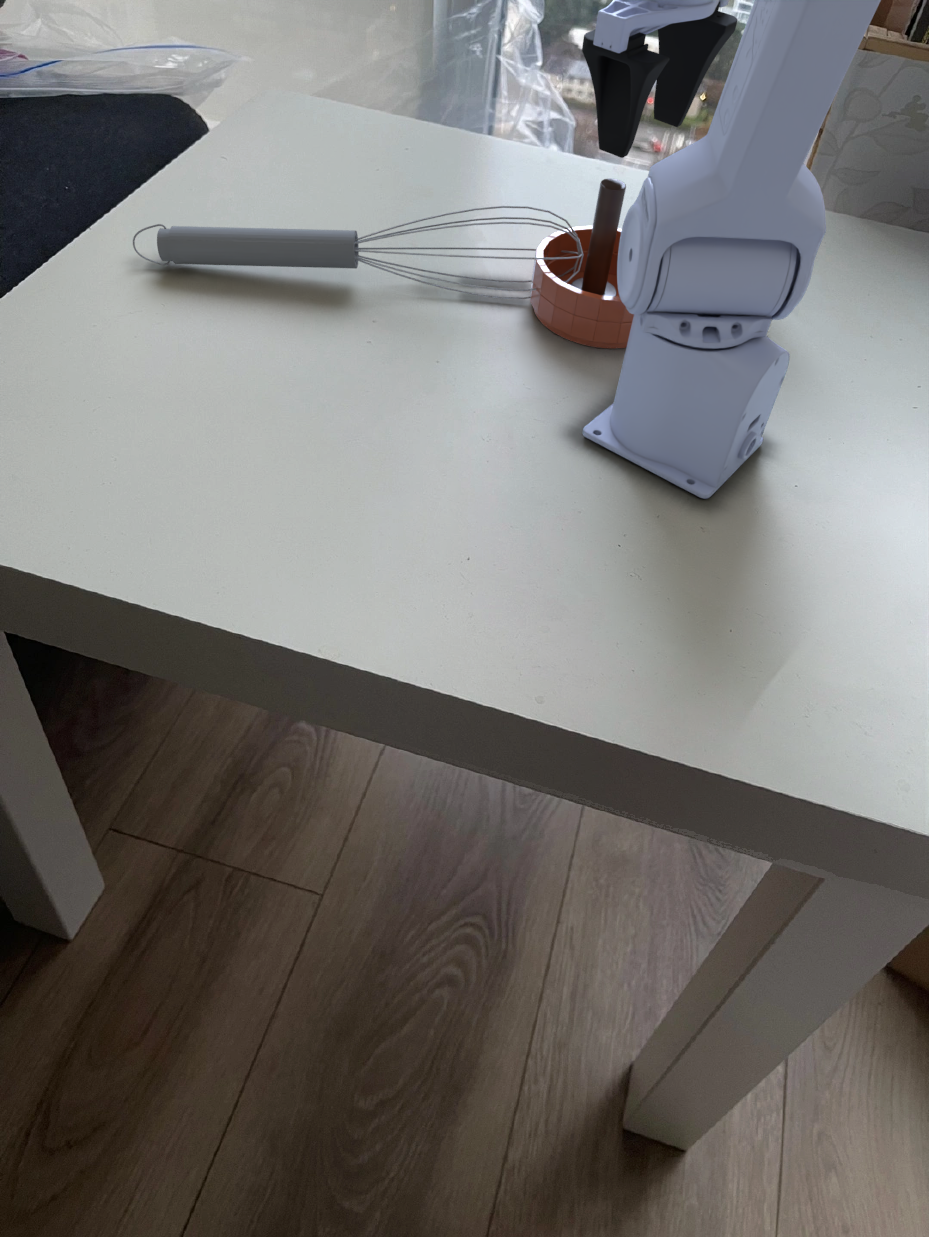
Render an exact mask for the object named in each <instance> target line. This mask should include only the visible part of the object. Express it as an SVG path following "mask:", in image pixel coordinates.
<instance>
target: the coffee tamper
mask: <svg viewBox="0 0 929 1237" xmlns="http://www.w3.org/2000/svg"><path fill="white" fill-rule="evenodd" d="M626 190H627V184H626V183H625V182H624V181H623V180H620V179H618V178H604V179H602V180H601V181H600V184H599V189H598V195H597V200H596V206H595V209H594V210H595V211H594V217H593V222H592V225H593V227H592V233H591V238H590V244H589V249H588V255H587V260H586V266H585V272H584V277H583V278H580V279H577V280H575V281H573V282H572V283H571V286H574V287H576V288H578V289H580V290H583V291H587V292H590V293H594V294H598V295H603V296H614V297H616V295H617V291H616V289H615V287H614V286H613V285H612V284H610V283H609V282H607V280H608V275H609V270H610V265H611V260H612V255H613V250H614V245H615V240H616V235H617V230H618V228H619V225H620V220H621V215H622V209H623V205H624V199H625V194H626Z"/></svg>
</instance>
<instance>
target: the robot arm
mask: <svg viewBox="0 0 929 1237" xmlns="http://www.w3.org/2000/svg"><path fill="white" fill-rule="evenodd" d="M729 1H730V0H612V1H611V2H610V3H609V4H608V5H607V6H605V7H604V8H601V9H600V10H598V11H597V18H596V24H595V29H592V30H589V31H588V32H586V33H585V34H584V35H583V40H582V47H581V52H582V54H583V57H584V60H585V62H586V65H587V67H588V71H589V74H590V78H591V82H592V83H591V84H592V86H593V92H594V98H595V100H594V101H595V111H596V125H597V139H598V142H597V143H598V149H599V150H600V151H603V152H605V153H608V154H610V155H613V156H616V157H617V158H620V159H621V158H622V159H624V158H625V157H627V156H628V155H629V153H630V151H631V149H632V147H633V144H634V142H635V139H636V135H637V132H638V130H639V127H640V122H641V119H642V115H643V112H644V109H645V106H646V104H647V101H648V99H649V96H650V94H651V92H652V90H653V87H654V85H655V90H654V97H653V98H654V99H653V120H656V121H658V122H661V123H664V124H667V125H670V126H671V127H672V126H673V127H675V128H679V127H680V126H682V124H683V123H684V121H685V119H686V117H687V115H688V113H689V111H690V108H691V106H692V104H693V102H694V101H695V100H694V99H695V97H696V96H697V93H698V90H699V88H700V87H701V85H702V83H703V80H704V78H705V76H706V74H707V73H708V71H709V69H710V67H711V65H712V63H713V62H714V60H715V59H716V57H717V55H718V54H719V52H720V51H721V50H722V48H723V47H724V45H725V44H726V43H727V42H728V40H729V39H730V38H731V36H732V35H733V34H734V33H735V32H736V29H737V24H738V18H737V17H736V16H734V15H732V14H729V13H726V12H723V11H720V8H724V7H726V6H728V5H729ZM881 1H882V0H754V2H753V4H752V7H751V10H750V12H749V16H748V18H747V20H746V24H745V27H744V29H743V33H742V35H741V38H740V41H739V43H738V46H737V49H736V52H735V55H734V58H733V61H732V63H731V67H730V69H729V71H728V75H727V77H726V80H725V83H724V85H723V89H722V91H721V94H720V97H719V100H718V102H717V106H716V107H715V111H714V114H713V116H712V120H711V122H710V124H709V128H708V131H707V133H706V135H704V136H703V137H701V138H700V139H698V140H696V141H695V142H693V143H691V144H688V145H686V146H685V147H682V148H681V149H680V150H677V151H676V152H673V153H672V154H670V155H668V156H666V157H665V158H662V159H661V160H659V161H657V162H656V163H654V164H653V165H651V166H650V168H649V171H648V174H647V177H646V178H645V179H644V180H643V182H642V185H641V187H640V191H639V193H638V195H637V197H636V199H635V201H634V202H633V204H631V206H630V207H629V208H628V210H627V212H626V214H625V217H624V220H623V223H622V228H621V229H622V231H621V236H620V242H619V250H618V261H617V284H618V292H619V296H620V299H621V301H622V303H623V304H624V305H625V306H626V309H627V310H628V311H629V313H631V314H634V317H633V321H632V325H631V330H630V334H629V338H628V343H627V347H626V348H625V352H624V356H623V360H622V365H621V368H620V374H619V377H618V378H619V379H618V383H617V387H616V391H615V396H614V400H613V403H611V404H610V405H608V407H606V409H604V410H603V411H601V413H599V414H598V415H597V416H595V417H594V418H593V419H592V420H590V422H588V423H587V424H586V425H585V426H584V427H582V436H583V437H584V438H586V439H587V440H590V441H592V442H593V443H596V444H598V445H600V446H601V447H603V448H605V449H606V450H609V451H610V452H612V453H614V454H616V455H618V456H620V457H621V458H624V459H626V460H627V461H629V462H632V463H633V464H635V465H637V466H639V467H641V468H643V469H645V470H647V471H648V472H651V473H653V474H654V475H656V476H658V477H660V478H662V479H664V480H666V481H667V482H670V483H671V484H673V485H675V486H677V487H679V488H681V489H682V490H685V491H686V492H689V493H691V494H693V495H694V496H696V497H698V498H699V499H703V500H707V499H709V498H711V497H712V496H713V495H714V494H715V493H716V492H717V491H718V490H719V489H720V488H721V487H722V486H723V484H725V483H726V481H728V480H729V479H730V478H731V476H732V475H733V474H734V473H735V472H736V471H738V469H740V468H741V466H742V465H743V464H744V463H745V462H746V461H747V460H748V459H749V458H750V457H751V456H752V455H753V454H754V453H755V452H756V451H757V450H758V449H759V448H760V446H761V445H762V444H763V442H764V437H763V434H764V431H765V429H766V427H767V424H768V421H769V419H770V416H771V413H772V411H773V408H774V406H775V403H776V401H777V398H778V396H779V393H780V390H781V388H782V385H783V382H784V379H785V378H786V377H785V376H786V374H787V371H788V369H789V364H790V351H788V350H787V349H785V348H784V347H782V346H781V345H779V344H778V343H776V342H775V341H774V340H772V339H771V338H770V337H769V336H768V332H769V329H770V327H771V324H772V321H780V320H783V319H785V318H787V317H788V316H789V315H790V314H792V312H793V311H794V310H795V309H796V307H797V306H798V305H799V304H800V303H801V301H802V300H803V298H804V296H805V294H806V292H807V290H808V287H809V284H810V281H811V279H812V274H813V272H814V265H815V260H816V257H817V254H818V251H819V249H820V247H821V244H822V242H823V239H824V236H825V235H826V233H827V220H826V219H827V218H826V206H825V201H824V196H823V192H822V189H821V186H820V184H819V182H818V180H817V178H816V176H815V175H814V174H813V172H812V171H811V170H810V169H809V167H807V165H806V164H805V161H806V159H807V157H808V154H809V152H810V150H811V148H812V146H813V144H814V142H815V139H816V138H817V136H818V133H819V131H820V129H821V127H822V125H823V123H824V121H825V119H826V116H827V115H828V112H829V110H830V109H831V106H832V103H833V102H834V100H835V98H836V95H837V93H838V92H839V89H840V87H841V85H842V83H843V81H844V79H845V76H846V75H847V72H848V70H849V69H850V66H851V64H852V62H853V61H854V60H853V59H854V58H855V56H856V54H857V51H858V50H859V47H860V46H861V43H862V41H863V39H864V37H865V35H866V33H867V30H868V29H869V26H870V25H871V22H872V20H873V18H874V15H875V13H876V12H877V10H878V7H879V5H880V3H881ZM655 31H657V39H658V52H656V51H652V50H649V44H648V43H646V37H647V35H649V34H651V33H653V32H655Z"/></svg>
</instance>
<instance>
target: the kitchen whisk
mask: <svg viewBox="0 0 929 1237" xmlns="http://www.w3.org/2000/svg"><path fill="white" fill-rule="evenodd" d="M494 209H529V210H533V211H538V212H543V213H548V214H550V215H553V216H554V217H556V218H558V219H560V220H562V221H563V222H565V224H567V226H568V227H567V226H564V225H562V224H560V223H557V222H554V221H552V220H547V219H541V218H535V217H525V216H523V217H520V216H519V217H518V216H499V217H498V216H497V217H484V218H483V217H481V218H472V219H463V220H455V221H454V220H453V221H447V222H442V223H436V224H430V225H429V224H428V225H423V226H419V227H413V228H408V229H404V230H403V229H401V230H397V231H394V232H389V233H385V234H381V233H384V232H387V231H390V230H393V229H397V228H401V227H404V226H408V225H412V224H415V223H420V222H423V221H428V220H432V219H436V218H441V217H445V216H450V215H455V214H456V215H457V214H462V213H468V212H474V211H484V210H494ZM493 220H494V221H493ZM495 220H529V221H536V222H543V223H549V224H543V223H535V222H529V221H495ZM477 221H489V222H477ZM490 221H491V222H490ZM469 222H470V223H469ZM471 222H473V223H471ZM461 223H462V224H461ZM463 223H464V224H463ZM453 224H454V225H453ZM550 224H551V225H550ZM484 225H485V226H486V225H531V226H538V227H545V228H551V229H554V230H556V231H559V230H560V231H562V232H565V233H568V234H569V235H570V236H571V237H572V238H573V239H574V240H575V241H576V243H577V250H578V253H577V252H571V251H563V250H562V251H561V252H564V253H572V254H577V255H578V256H575V257H555V258H536V257H535V256H534V257H529V256H527V257H525V256H495V255H494V256H492V255H491V256H490V255H469V254H468V255H466V254H465V255H464V254H441V253H421V252H404V251H402V252H401V251H388V250H476V251H477V250H481V251H482V250H485V251H489V250H490V251H531V252H532V251H533V252H536V249H537V248H519V247H517V248H516V247H451V246H450V247H440V246H439V247H438V246H437V247H435V246H434V247H432V246H431V247H427V246H426V247H425V246H423V247H415V246H414V247H413V246H411V247H405V246H404V247H401V246H400V247H399V246H398V247H359V244H362V243H367V242H372V241H377V240H382V239H387V238H393V237H398V236H404V235H409V234H414V233H423V232H429V231H436V230H442V229H450V228H462V227H471V226H484ZM554 225H555V226H554ZM556 226H557V227H556ZM156 227H160V228H159V229H158V231H157V234H156V246H157V253H158V256H159V259H160V260H161V261H162V262H159V261H156V260H154V259H150V258H148V257H146V256H144V255H142V254H141V253H140V252H139V251H138V250H137V247H136V244H135V243H136V242H135V241H136V238H137V236H138V235H139V234H141V233H142V232H144V231H146V230H149V229H152V228H156ZM559 227H560V228H559ZM572 227H573V226H572V225H571V223H569V221H568V220H567V219H566V218H564V217H562V216H560V215H559V214H556V213H555V212H553V211H551V210H547V209H544V208H538V207H533V206H526V205H525V206H524V205H497V206H485V207H475V208H469V209H463V210H458V211H452V212H446V213H441V214H438V215H437V214H436V215H433V216H429V217H424V218H420V219H416V220H413V221H409V222H404V223H401V224H398V225H394V226H391V227H388V228H383V229H381V230H378V231H375V232H372V233H369V234H366V235H363V236H359V235H358V231H357V230H353V229H352V230H351V229H349V230H348V229H312V228H311V229H310V228H304V229H303V228H273V227H272V228H271V227H269V228H266V227H230V226H229V227H228V226H227V227H225V226H189V225H188V226H187V225H186V226H185V225H172V226H170V228H167V227H166V226H165V224H163V223H158V224H156V223H155V224H153V225H149V226H146V227H144V228H142V229H140V230H138V231H137V232H136V233H135V234H134V236H133V237H132V246H133V249H134V251H135V253H136V254H137V255H138V256H139V257H140V258H142V259H144V260H145V261H148V262H151V263H154V264H157V265H161V266H168V265H169V264H170V263H171V262H173V264H175V265H198V266H200V265H201V266H202V265H203V266H235V267H236V266H237V267H238V266H241V267H243V266H244V267H245V266H246V267H278V268H279V267H280V268H281V267H282V268H285V267H286V268H318V269H321V268H323V269H324V268H325V269H358V266H359V262H360V263H363V264H365V265H369V266H370V267H374V268H376V269H379V270H382V271H385V272H387V273H390V274H393V275H396V276H399V277H403V278H406V279H409V280H413V281H415V282H419V283H421V284H425V285H430V286H433V287H436V288H440V289H443V290H444V289H445V290H449V291H453V292H457V293H463V294H466V295H467V294H468V295H471V296H477V297H485V298H492V299H493V298H494V299H499V300H500V299H501V300H502V299H504V300H526V299H530V295H529V296H522V297H521V296H497V295H491V294H483V293H476V292H470V291H466V290H460V289H455V288H451V287H447V286H442V285H440V284H435V283H432V282H428V281H424V280H422V279H421V280H420V279H418V278H414V277H411V276H407V275H405V274H409V275H413V276H417V277H420V278H425V279H429V280H435V281H438V282H442V283H443V282H444V283H448V284H454V285H458V286H459V285H460V286H466V287H469V288H471V287H472V288H477V289H479V288H480V289H486V290H495V291H509V292H510V291H511V292H513V291H514V292H530V291H533V290H536V288H534V289H531V288H501V287H493V286H486V285H485V286H483V285H475V284H470V283H463V282H459V281H453V280H452V281H451V280H447V279H442V278H437V277H433V276H429V275H425V274H424V275H423V274H421V273H417V272H412V271H408V270H404V269H410V270H414V271H419V272H424V273H429V274H430V273H431V274H435V275H440V276H447V277H455V278H461V279H467V280H475V281H486V282H496V283H522V284H525V283H531V282H532V279H529V280H512V279H511V280H507V279H506V280H505V279H491V278H481V277H473V276H464V275H457V274H450V273H445V272H439V271H433V270H427V269H423V268H418V267H413V266H408V265H403V264H399V263H394V262H389V261H384V260H380V259H376V258H372V257H367V256H364V255H360V254H359V253H373V254H374V253H375V254H388V255H389V254H390V255H391V254H393V255H406V256H407V255H409V256H428V257H429V256H430V257H445V258H446V257H447V258H471V259H495V260H496V259H497V260H502V259H503V260H535V259H541V260H554V259H574V258H577V261H576V263H575V265H574V267H573V268H571V269H570V270H568V271H567V272H565V273H564V274H562V275H559V276H557V277H562V276H564V275H565V274H567V273H568V272H570V271H571V270H573V269H574V272H573V275H572V276H571V277H570V278H569V279H568V280H567V281H564V282H565V283H568V282H569V281H570V280H571V279H572V278H573V277H574V276H575V275H576V274H577V273H578V272H579V271H580V267H581V263H582V260H583V256H584V255H583V251H582V247H581V243H580V240H579V238H578V237H577V234H576V232H575V231H574V229H573V228H572ZM568 228H571V230H572V231H573V232H572V231H571V230H570V229H568ZM563 229H567V230H568V231H569V232H570V233H571V234H572V235H571V234H570V233H569V232H568V231H565V230H563ZM377 234H380V235H377ZM374 235H375V236H374ZM384 250H385V251H384ZM386 250H387V251H386ZM580 250H581V251H580ZM580 257H581V260H580V264H579V268H578V271H577V272H576V273H575V271H576V268H577V264H578V261H579V259H580ZM163 262H166V263H163ZM390 265H391V266H390ZM393 266H396V267H400V268H396V267H393ZM401 268H404V269H401ZM389 269H390V270H389ZM392 270H394V271H392ZM395 271H397V272H395ZM398 272H399V273H398ZM400 272H401V273H400ZM402 273H405V274H402Z"/></svg>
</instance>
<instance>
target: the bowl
mask: <svg viewBox="0 0 929 1237" xmlns="http://www.w3.org/2000/svg"><path fill="white" fill-rule="evenodd" d="M571 227H572V228H573V229H574V231H575V232H576V234H577V237H578V238H579V240H580V243H581V247H582V251H583V255H584V256H583V260H582V263H581V267H580V271H579V272H578V273H577V274H576V275H575V276H574V277H573V278H572V279H571V280H570V281H569V282H568V283H565V282H564V281H567V280H568V279H569V278H570V277H571V276H572V275H573V272H574V269H573V270H571V271H570V272H568V273H567V274H565V275H564V276H562V277H557V276H559V275H562V274H564V273H565V272H567V271H568V270H570V269H571V268H573V267H574V265H575V263H576V261H577V258H574V259H554V260H541V259H533V260H534V261H533V268H532V275H531V280H532V282H530V289H534V288H536V290H533V291H529V296H530V298H529V302H530V305H531V306H532V310H533V312H534V315H535V316H536V318H537V320H539V322H540V323H541V324H542V325H543V326H544V327H545V328H546V329H548V330H549V331H551V332H552V333H554V334H556V335H557V336H558V337H561V338H563V339H565V340H567V341H570V342H573V343H575V344H579V345H583V346H587V347H592V348H599V349H612V350H613V349H626V347H627V343H628V338H629V334H630V330H631V325H632V321H633V317H634V314H631V313H629V311H628V310H627V309H626V306H625V305H624V304H623V303H622V301H621V299H620V296H619V292H618V284H617V261H618V250H619V242H620V236H621V231H622V228H621V227H618V230H617V235H616V240H615V245H614V250H613V255H612V260H611V265H610V270H609V275H608V280H607V282H609V283H610V284H612V285H613V286H614V287H615V289H616V291H617V295H616V297H614V296H603V295H598V294H594V293H590V292H587V291H583V290H580V289H578V288H576V287H574V286H571V283H572V282H573V281H575V280H577V279H580V278H583V277H584V272H585V266H586V260H587V255H588V249H589V244H590V238H591V233H592V227H593V224H592V225H581V226H580V225H579V226H578V225H577V226H571ZM567 228H568V229H570V230H571V228H570V227H567ZM562 230H565V231H568V230H567V229H564V228H562ZM571 231H572V230H571ZM568 232H569V231H568ZM572 232H573V231H572ZM569 233H570V232H569ZM570 234H571V233H570ZM571 235H572V234H571ZM535 249H536V251H534V252H535V253H534V257H536V258H555V257H575V256H578V255H577V254H572V253H564V252H561V251H562V250H563V251H571V252H577V253H578V250H577V243H576V241H575V240H574V239H573V238H572V237H571V236H570V235H569V234H568V233H565V232H562V231H560V230H556V231H554V232H552V233H551V234H549V235H547V236H546V237H544V238H543V239H542V240H541V241H540V243H539V245H538V246H537V247H536V248H535ZM580 251H581V250H580ZM580 260H581V257H580V259H579V261H578V264H577V268H576V271H575V273H576V272H577V271H578V268H579V264H580Z"/></svg>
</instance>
